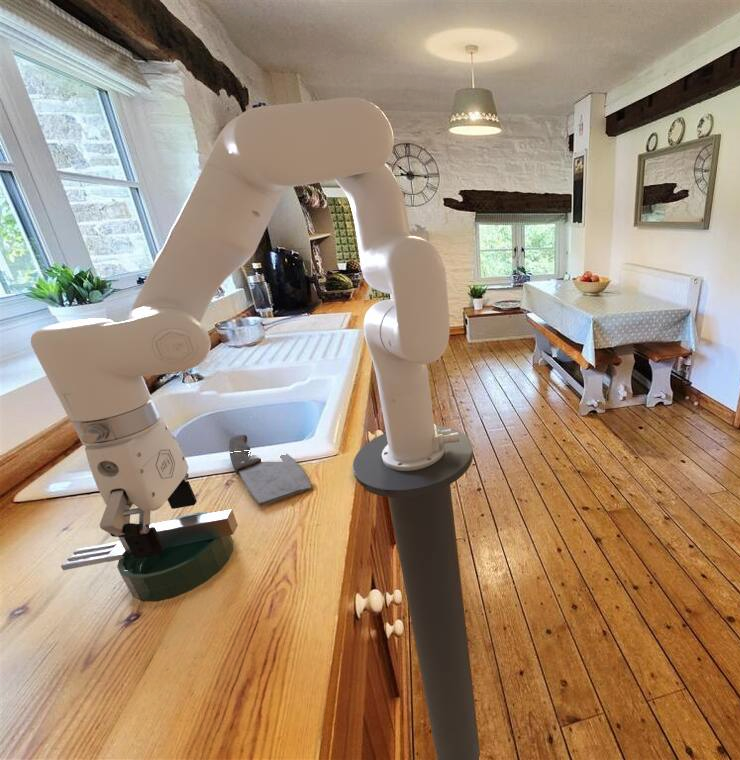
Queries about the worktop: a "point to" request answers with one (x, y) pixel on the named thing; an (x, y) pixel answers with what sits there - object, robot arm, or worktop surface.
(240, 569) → the worktop surface
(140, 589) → the bowl
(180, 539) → the fork
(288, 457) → the cleaver
